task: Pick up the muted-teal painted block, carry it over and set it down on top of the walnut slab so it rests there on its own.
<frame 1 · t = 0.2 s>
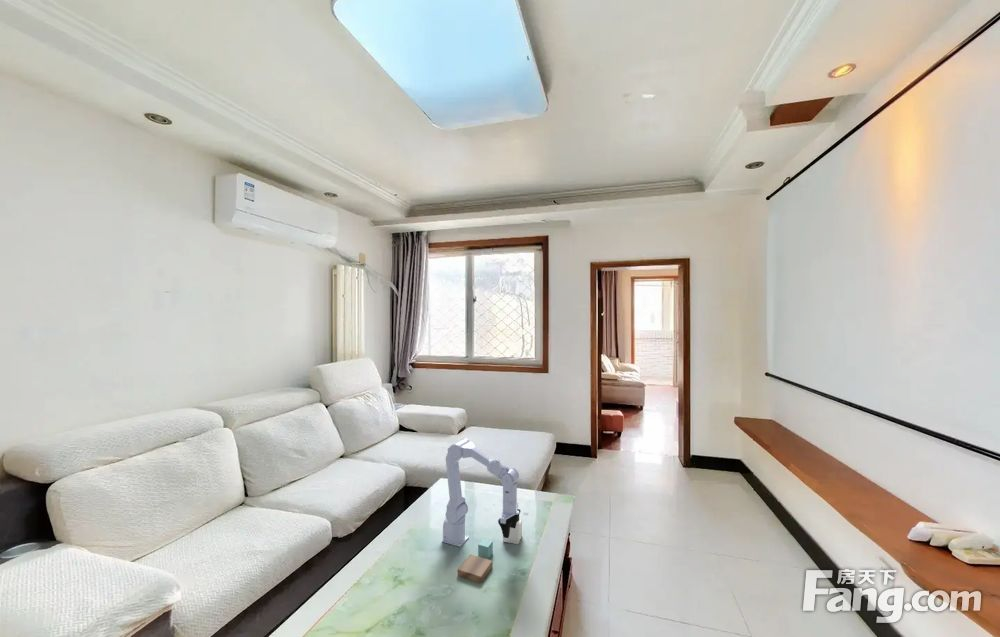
hand: (509, 532, 158), 10 cm above the table, fingers open, 7 cm apart
walnut slab: (475, 572, 148), on the table
teal block: (485, 554, 159), on the table
medicine bottle: (512, 539, 170), on the table
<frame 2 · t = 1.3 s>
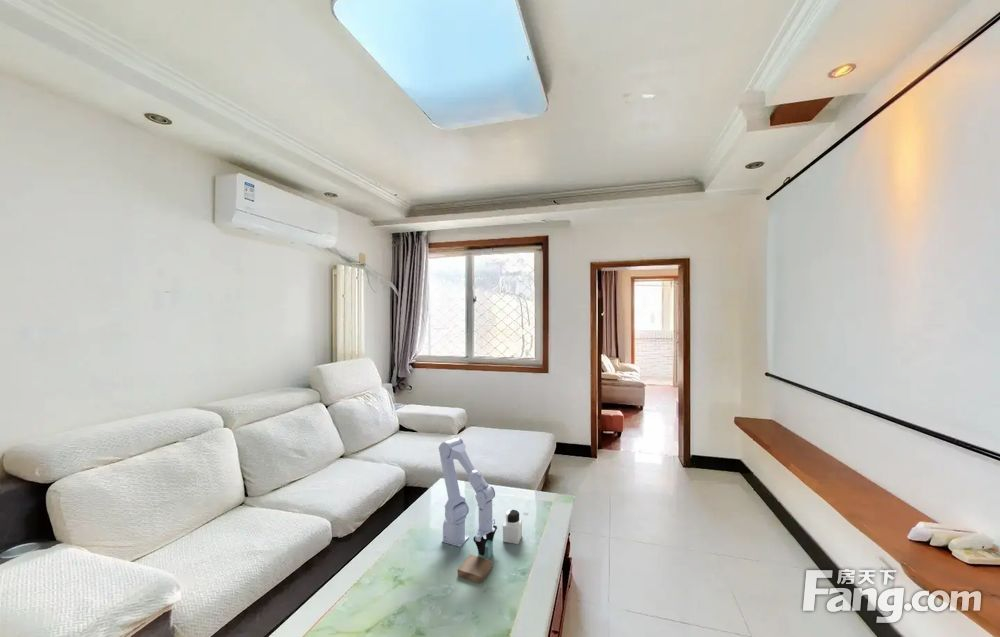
hand: (485, 549, 158), 2 cm above the table, fingers open, 7 cm apart
nothing on the table moved.
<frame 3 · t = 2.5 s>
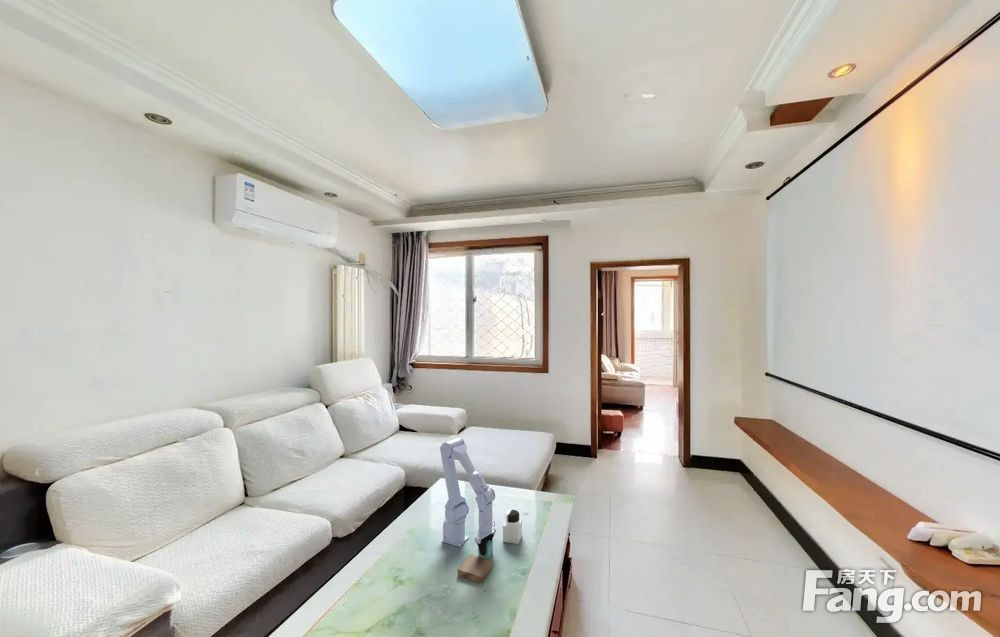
hand: (485, 551, 159), 1 cm above the table, fingers closed on teal block, 4 cm apart
teal block: (485, 554, 159), on the table, touching gripper
everything else where it was.
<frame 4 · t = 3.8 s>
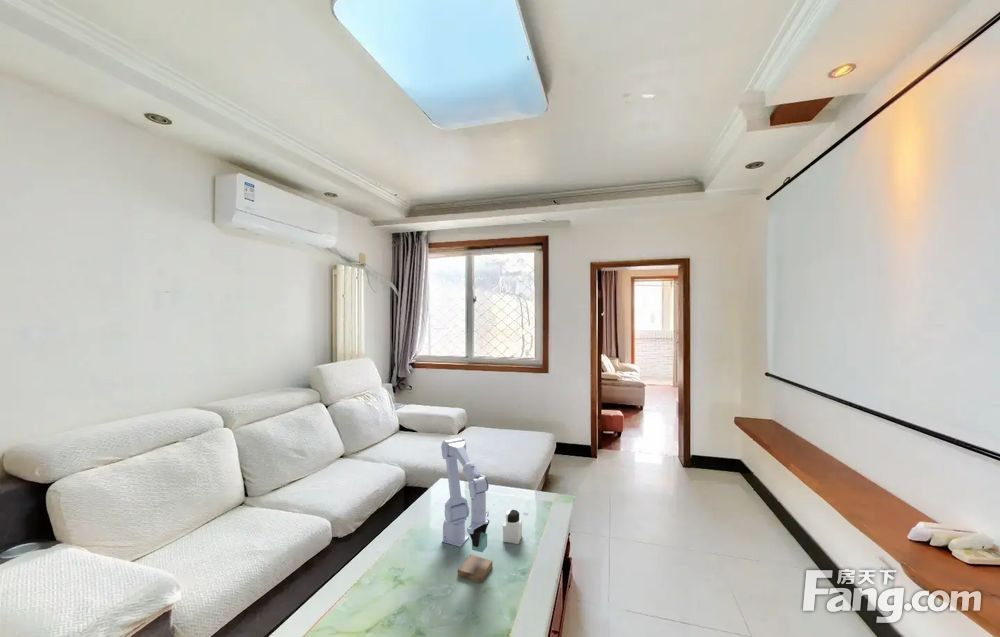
hand: (478, 542, 151), 10 cm above the table, fingers closed on teal block, 4 cm apart
teal block: (479, 547, 151), point 7 cm above the table, touching gripper
everything else where it was.
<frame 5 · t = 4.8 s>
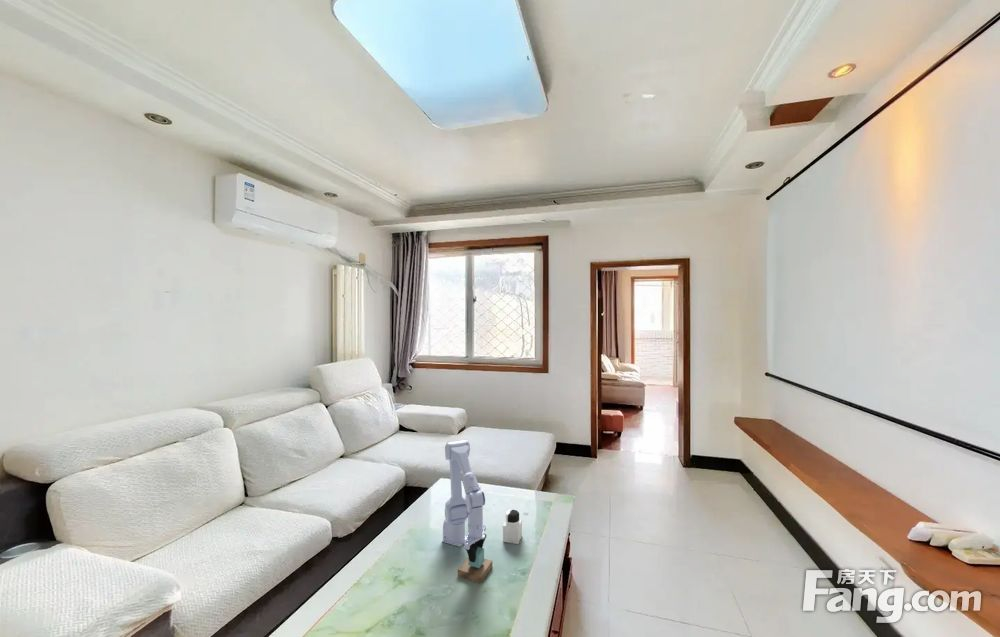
hand: (475, 557, 148), 5 cm above the table, fingers closed on teal block, 4 cm apart
teal block: (476, 563, 148), point 3 cm above the table, touching gripper
everything else where it was.
when the fingers open (5 cm above the table, at t = 5.6 s): teal block stays where it is, resting on walnut slab.
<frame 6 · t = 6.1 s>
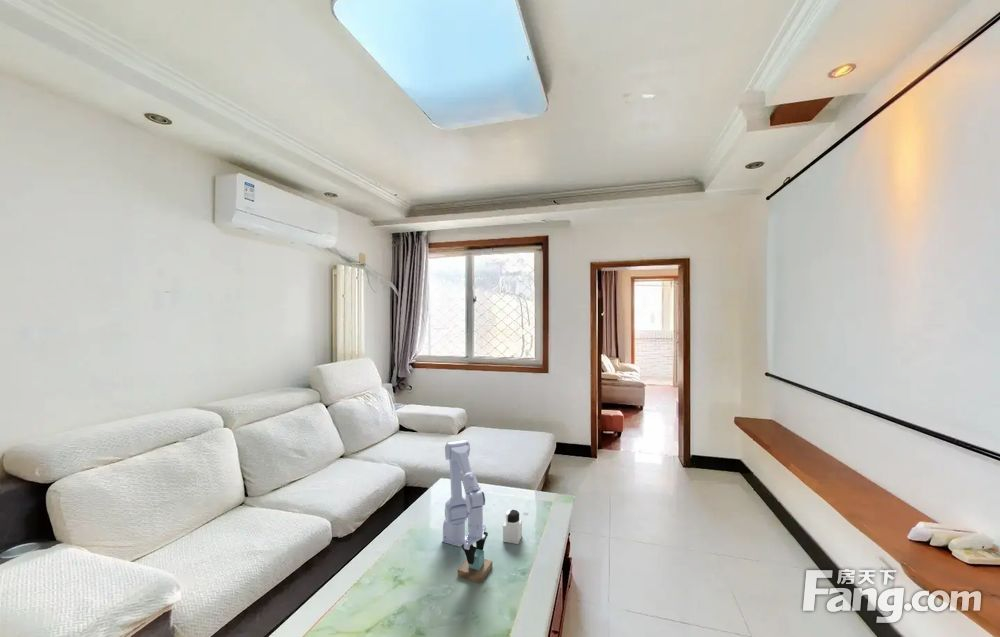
hand: (475, 557, 148), 5 cm above the table, fingers open, 7 cm apart
walnut slab: (475, 572, 148), on the table, touching teal block
teal block: (476, 565, 148), point 2 cm above the table, touching walnut slab
everything else where it was.
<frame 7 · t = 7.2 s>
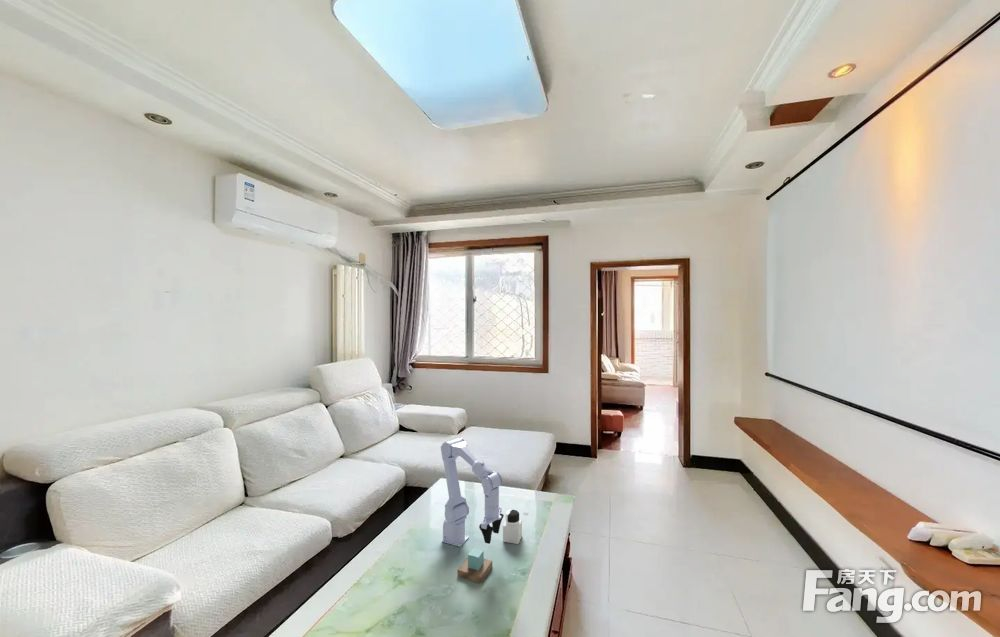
hand: (491, 537, 154), 10 cm above the table, fingers open, 7 cm apart
walnut slab: (475, 572, 148), on the table
teal block: (475, 565, 148), point 2 cm above the table
everything else where it was.
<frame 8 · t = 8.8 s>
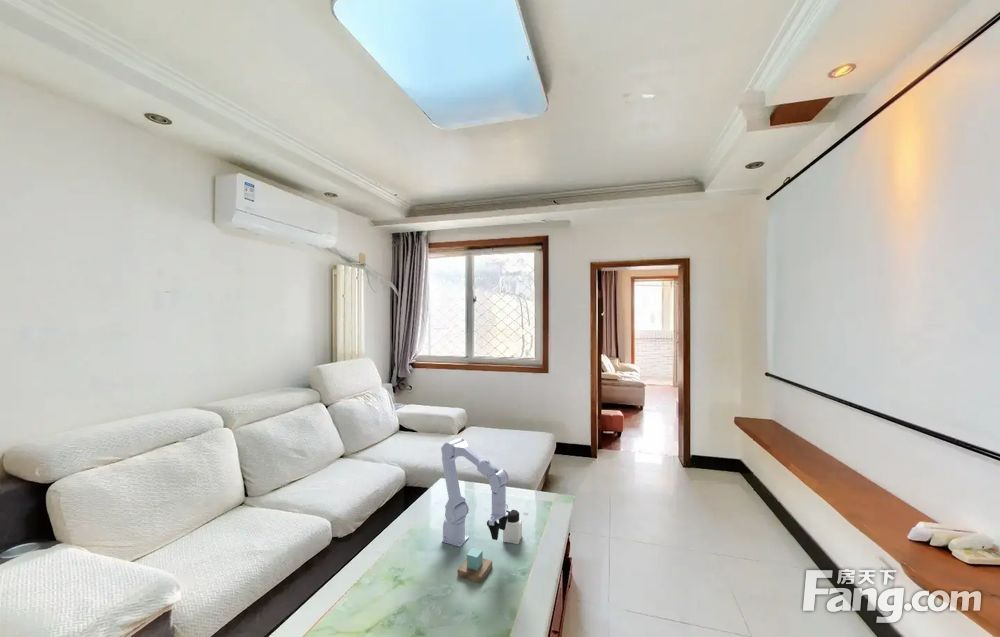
hand: (498, 534, 156), 10 cm above the table, fingers open, 7 cm apart
nothing on the table moved.
at the end: teal block inside the target area on the walnut slab (0.2 cm from its centre), point 3.0 cm above the walnut slab's base; teal block tilted 0°; the gripper is holding nothing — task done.
